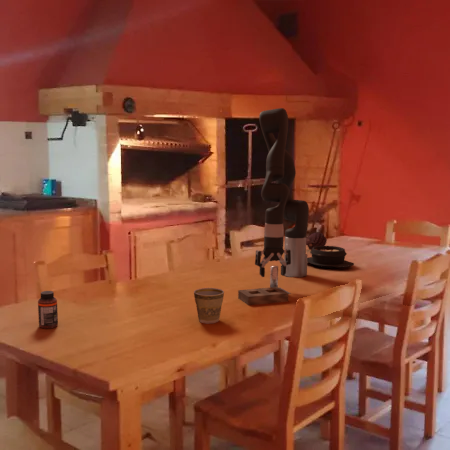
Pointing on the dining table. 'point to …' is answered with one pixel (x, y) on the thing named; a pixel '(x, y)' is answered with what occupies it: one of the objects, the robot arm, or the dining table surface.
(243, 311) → the dining table surface
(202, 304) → the ceramic cup
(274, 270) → the pin
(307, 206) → the robot arm
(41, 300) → the supplement bottle
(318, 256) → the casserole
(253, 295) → the socket block
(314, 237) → the pine cone
